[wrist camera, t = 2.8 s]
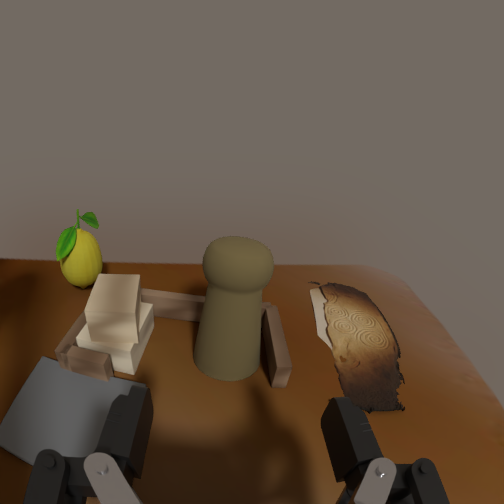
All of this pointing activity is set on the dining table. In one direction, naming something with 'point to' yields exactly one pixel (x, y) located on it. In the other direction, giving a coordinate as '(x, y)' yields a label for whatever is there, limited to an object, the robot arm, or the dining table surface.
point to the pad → (59, 412)
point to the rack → (183, 310)
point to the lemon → (80, 253)
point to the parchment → (359, 346)
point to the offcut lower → (123, 344)
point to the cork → (232, 308)
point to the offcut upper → (114, 309)
